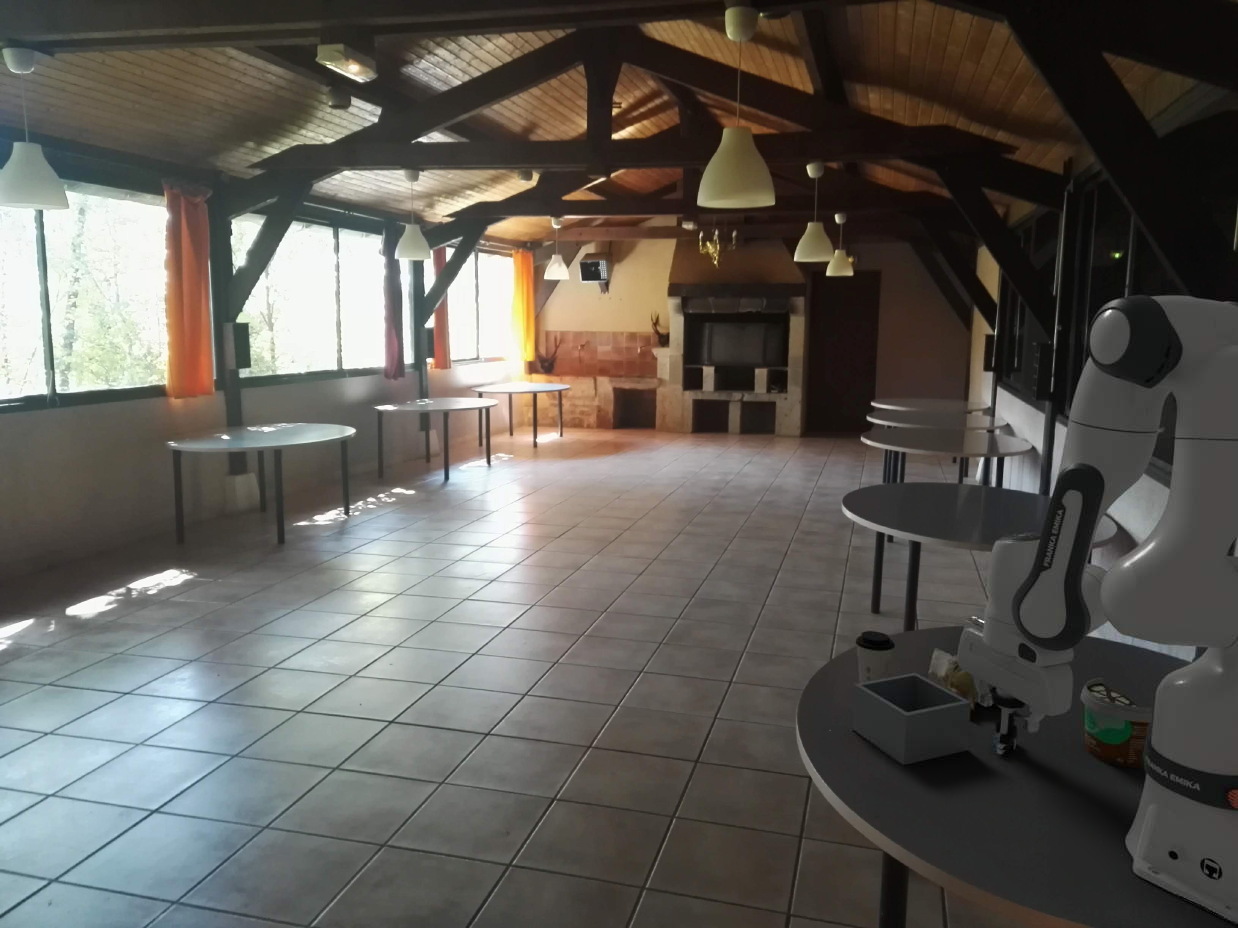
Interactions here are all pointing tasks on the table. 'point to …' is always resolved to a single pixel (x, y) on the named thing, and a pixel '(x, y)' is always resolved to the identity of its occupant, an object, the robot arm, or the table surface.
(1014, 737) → the push button
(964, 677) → the ceramic sculpture
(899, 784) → the table surface
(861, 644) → the coffee cup
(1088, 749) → the food container
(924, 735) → the bin
